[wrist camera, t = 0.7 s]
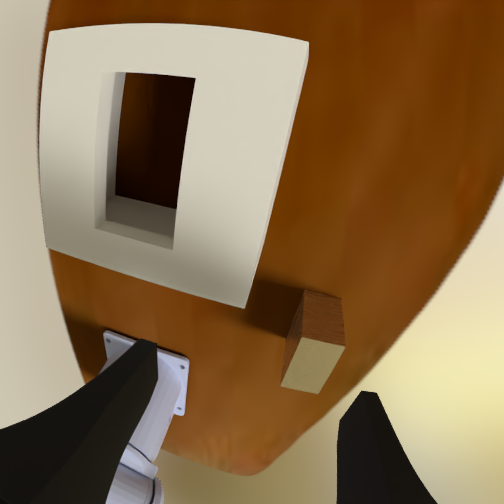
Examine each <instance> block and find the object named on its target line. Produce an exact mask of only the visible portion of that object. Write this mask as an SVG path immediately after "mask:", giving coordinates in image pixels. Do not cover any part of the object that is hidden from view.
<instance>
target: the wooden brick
mask: <svg viewBox="0 0 504 504" xmlns="http://www.w3.org/2000/svg"><path fill="white" fill-rule="evenodd" d="M345 347H346V346H345V333H344V322H343V311H342V302H341V298H337V297H333V296H329V295H325V294H321V293H317V292H313V291H309V290H304V293H303V295H302V298H301V301H300V304H299V306H298V309H297V312H296V314H295V317H294V320H293V322H292V325H291V327H290V330H289V333H288V335H287V338H286V345H285V353H284V360H283V368H282V375H281V383H280V386H282V387H286V388H291V389H296V390H301V391H306V392H311V393H316V394H318V393H319V392H320V390H321V388H322V387H323V385H324V383H325V382H326V380H327V378H328V377H329V375H330V373H331V372H332V370H333V368H334V366H335V365H336V363H337V361H338V359H339V358H340V356H341V354H342V352H343V351H344V349H345Z"/></svg>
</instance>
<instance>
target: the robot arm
mask: <svg viewBox="0 0 504 504" xmlns="http://www.w3.org/2000/svg"><path fill="white" fill-rule="evenodd" d="M103 336H104V342H105V348H106V354H107V359H108V360H107V362H106V363H105V365H104V366H103V368H102V370H101V371H100V373H99V374H98V375H97V376H96V377H95V378H94V379H92V380H91V381H90V382H88V383H87V384H86V385H84V386H83V387H81V388H80V389H79V390H77V391H76V392H74V393H73V394H72V395H70V396H69V397H67V398H65V399H64V400H62V401H60V402H59V403H57V404H56V405H54V406H52V407H50V408H48V409H46V410H45V411H43V412H41V413H39V414H37V415H35V416H33V417H30V418H28V419H26V420H23V421H21V422H19V423H16V424H13V425H11V426H8V427H6V428H3V429H0V504H163V501H164V492H163V489H162V484H161V481H160V480H159V479H158V478H157V477H155V475H156V472H157V470H158V467H157V466H155V465H153V464H152V462H153V461H154V460H155V458H156V457H157V455H158V452H159V450H160V447H161V445H162V442H163V440H164V437H165V435H166V432H167V430H168V427H169V425H170V422H171V419H172V417H173V414H177V415H180V416H182V415H184V413H185V403H186V392H187V381H188V371H189V360H188V359H187V358H186V357H183V356H180V355H177V354H174V353H171V352H168V351H165V350H162V349H159V348H157V343H154V342H151V341H147V340H144V339H139V340H137V341H136V340H133V339H130V338H127V337H125V336H122V335H119V334H117V333H114V332H111V331H109V330H106V331H105V332H104V333H103ZM337 504H437V502H436V501H435V500H434V499H433V497H432V496H431V495H430V493H429V492H428V490H427V489H426V487H425V486H424V484H423V483H422V481H421V480H420V478H419V477H418V475H417V474H416V472H415V470H414V469H413V467H412V465H411V463H410V461H409V459H408V458H407V456H406V454H405V452H404V450H403V448H402V446H401V444H400V442H399V440H398V438H397V436H396V433H395V431H394V429H393V427H392V425H391V423H390V420H389V419H388V416H387V414H386V412H385V410H384V407H383V405H382V403H381V401H380V399H379V396H378V394H377V393H375V392H367V391H361V392H360V393H359V395H358V396H357V398H356V399H355V401H354V402H353V403H352V405H351V406H350V407H349V409H348V410H347V412H346V413H345V414H344V416H343V417H342V418H341V419H340V422H339V431H338V440H337Z"/></svg>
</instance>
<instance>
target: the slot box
mask: <svg viewBox="0 0 504 504" xmlns="http://www.w3.org/2000/svg"><path fill="white" fill-rule="evenodd" d="M308 52H309V42H306V41H302V40H297V39H293V38H288V37H283V36H278V35H272V34H267V33H261V32H254V31H248V30H241V29H233V28H224V27H215V26H203V25H188V24H161V23H141V24H114V25H99V26H88V27H79V28H71V29H63V30H57V31H51V32H50V33H49V39H48V45H47V51H46V58H45V65H44V74H43V83H42V95H41V109H40V136H39V160H40V187H41V202H42V214H43V224H44V233H45V241H46V247H47V248H50V249H53V250H56V251H59V252H61V253H64V254H67V255H70V256H73V257H76V258H79V259H81V260H84V261H87V262H90V263H93V264H96V265H99V266H102V267H105V268H108V269H111V270H114V271H117V272H121V273H124V274H127V275H130V276H133V277H136V278H139V279H143V280H146V281H149V282H152V283H156V284H159V285H162V286H166V287H169V288H172V289H176V290H179V291H182V292H186V293H189V294H193V295H196V296H200V297H203V298H207V299H210V300H214V301H218V302H221V303H225V304H228V305H232V306H236V307H240V308H243V309H245V306H246V302H247V299H248V296H249V292H250V289H251V285H252V282H253V279H254V275H255V272H256V268H257V265H258V261H259V258H260V254H261V251H262V248H263V244H264V240H265V236H266V232H267V228H268V224H269V220H270V216H271V212H272V207H273V203H274V199H275V195H276V191H277V187H278V183H279V179H280V175H281V171H282V167H283V163H284V159H285V154H286V150H287V146H288V142H289V138H290V134H291V130H292V126H293V121H294V117H295V113H296V109H297V105H298V101H299V96H300V92H301V88H302V84H303V80H304V75H305V71H306V67H307V63H308ZM126 72H133V73H150V74H163V75H173V76H183V77H192V78H196V81H195V86H194V92H193V97H192V103H191V109H190V115H189V121H188V128H187V134H186V141H185V148H184V155H183V162H182V169H181V177H180V185H179V194H178V202H177V210H176V209H172V208H168V207H164V206H160V205H156V204H151V203H147V202H143V201H139V200H134V199H130V198H126V197H121V196H117V195H115V180H116V161H117V146H118V134H119V123H120V114H121V105H122V97H123V89H124V82H125V75H126Z"/></svg>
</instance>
